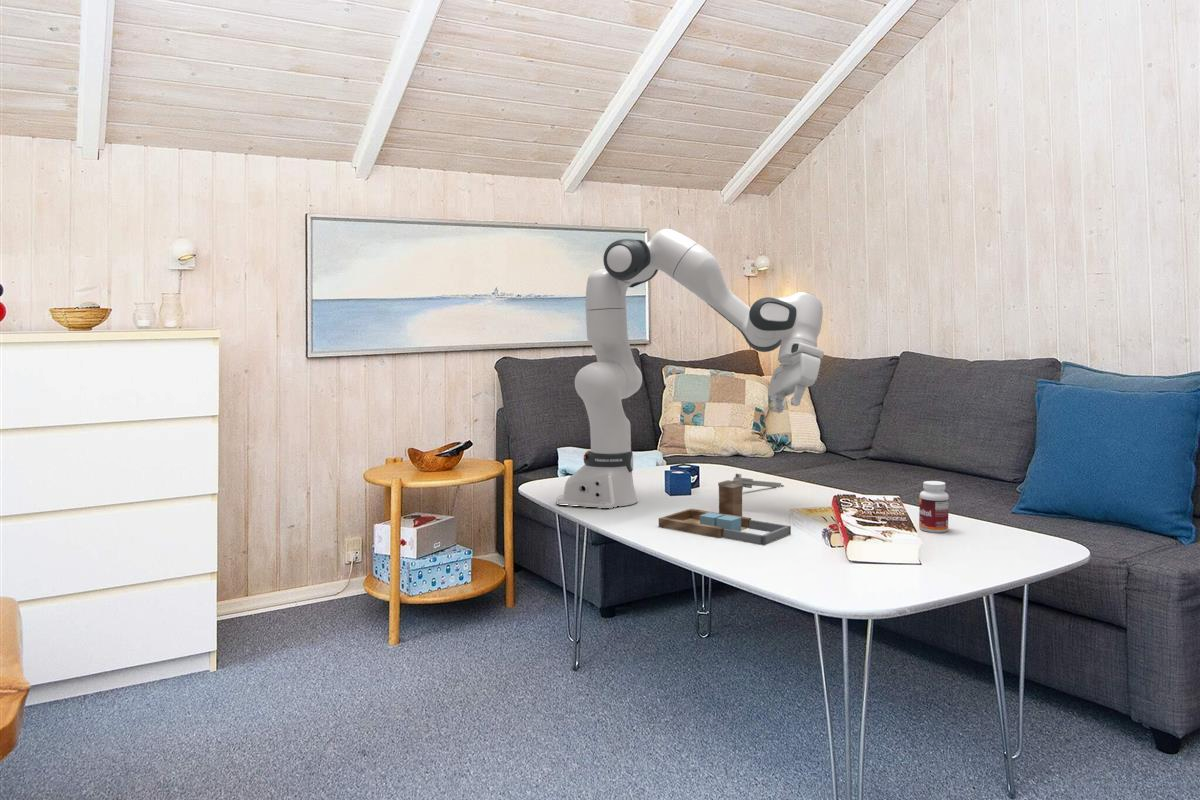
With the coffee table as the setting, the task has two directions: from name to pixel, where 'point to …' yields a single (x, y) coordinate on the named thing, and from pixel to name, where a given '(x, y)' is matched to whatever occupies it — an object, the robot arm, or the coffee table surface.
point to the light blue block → (729, 522)
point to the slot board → (696, 523)
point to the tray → (775, 534)
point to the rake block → (730, 497)
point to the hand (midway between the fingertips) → (786, 408)
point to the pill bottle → (933, 507)
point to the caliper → (754, 482)
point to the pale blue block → (709, 518)
